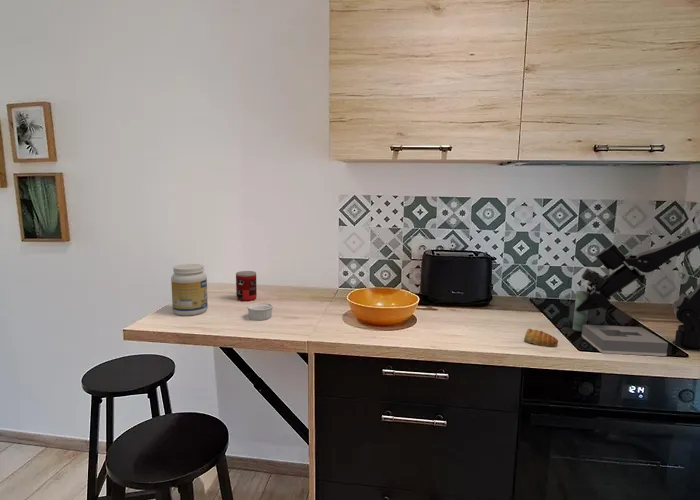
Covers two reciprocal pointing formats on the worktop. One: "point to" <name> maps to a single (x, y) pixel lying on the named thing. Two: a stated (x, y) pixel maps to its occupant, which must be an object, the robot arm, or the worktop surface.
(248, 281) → the canned food
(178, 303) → the supplement tub
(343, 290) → the worktop surface
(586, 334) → the keyhole plate
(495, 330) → the worktop surface
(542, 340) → the pastry
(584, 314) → the teal post
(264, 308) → the ramekin
